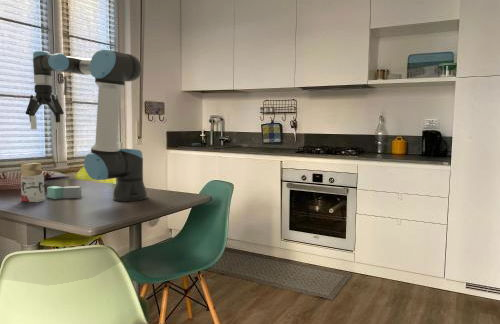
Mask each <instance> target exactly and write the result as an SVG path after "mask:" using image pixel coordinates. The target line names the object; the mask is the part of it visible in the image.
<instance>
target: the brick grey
mask: <svg viewBox="0 0 500 324" xmlns="http://www.w3.org/2000/svg"><path fill="white" fill-rule="evenodd" d="M81 197H82V186H80V185H78V186H77V185H75V186H74V185H73V186H72V185H71V186H64V187H63V198H62V199H79V198H81Z"/></svg>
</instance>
